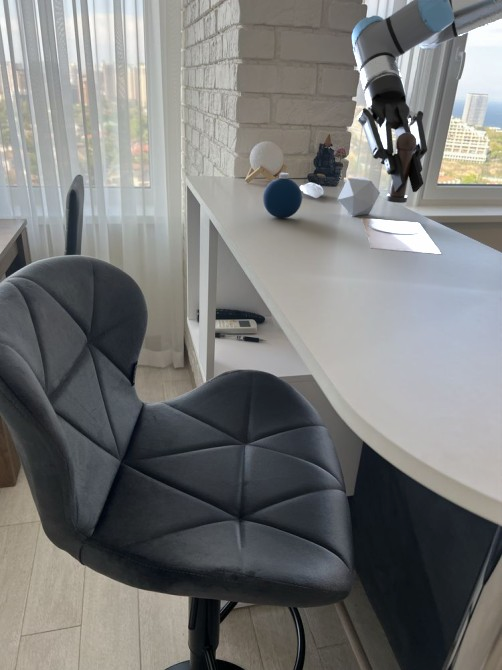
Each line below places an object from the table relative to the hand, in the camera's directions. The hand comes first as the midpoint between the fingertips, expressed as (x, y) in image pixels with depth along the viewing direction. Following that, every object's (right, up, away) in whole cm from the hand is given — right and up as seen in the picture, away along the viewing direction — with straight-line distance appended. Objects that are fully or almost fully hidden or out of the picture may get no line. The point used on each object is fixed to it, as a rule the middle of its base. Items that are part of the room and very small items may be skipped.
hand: (409, 187), depth 94 cm
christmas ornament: (-23, -2, +16) cm, 28 cm away
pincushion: (-14, +10, +41) cm, 44 cm away
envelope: (0, -8, +7) cm, 10 cm away
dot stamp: (-1, -1, +5) cm, 5 cm away
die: (-5, +1, +24) cm, 24 cm away
